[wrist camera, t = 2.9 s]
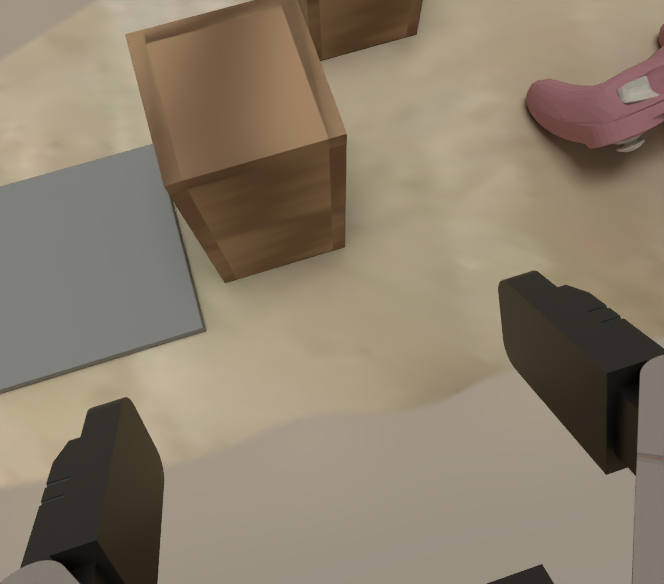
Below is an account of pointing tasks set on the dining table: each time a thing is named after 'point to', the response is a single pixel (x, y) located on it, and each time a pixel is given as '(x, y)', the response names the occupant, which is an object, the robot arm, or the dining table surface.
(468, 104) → the dining table surface
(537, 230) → the dining table surface
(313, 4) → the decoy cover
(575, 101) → the video game controller
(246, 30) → the brown rectangular block
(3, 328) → the slate mat
